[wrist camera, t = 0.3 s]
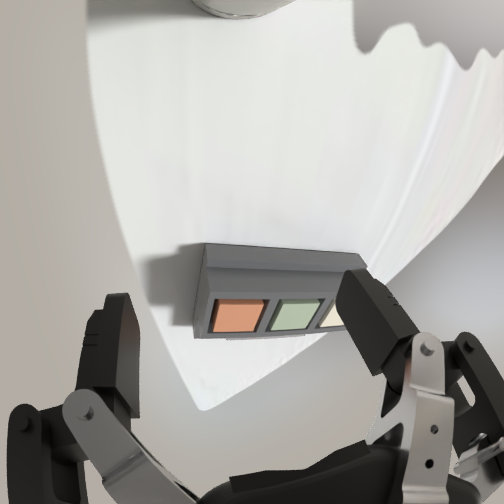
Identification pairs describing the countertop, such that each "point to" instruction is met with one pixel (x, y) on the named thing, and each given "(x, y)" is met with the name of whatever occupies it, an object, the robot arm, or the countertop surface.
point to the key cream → (330, 316)
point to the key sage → (293, 313)
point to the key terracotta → (235, 314)
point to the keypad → (268, 285)
